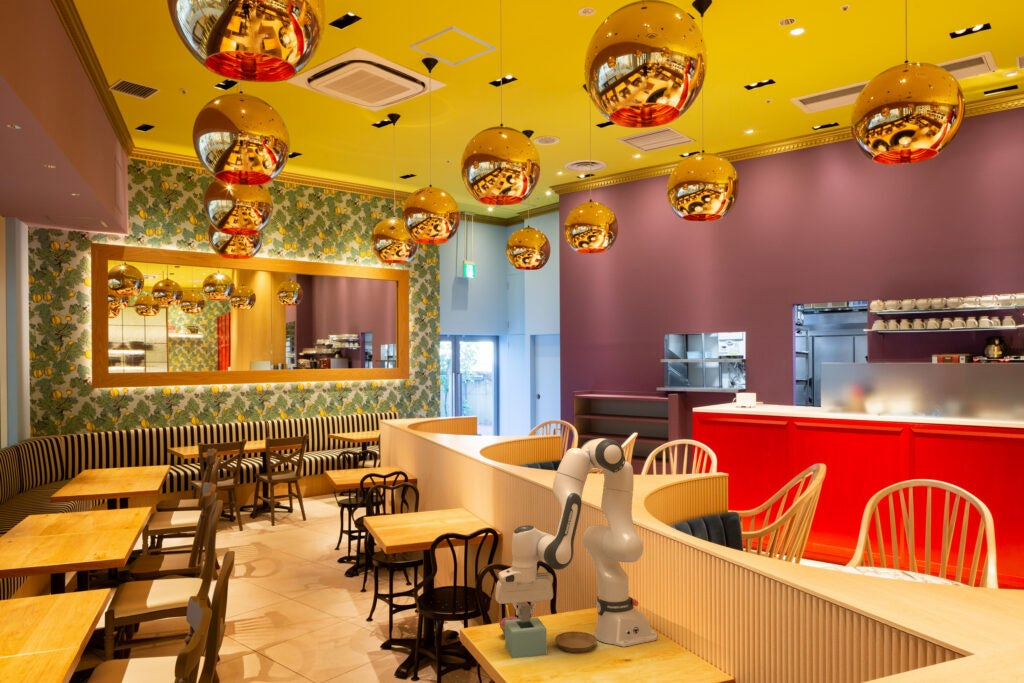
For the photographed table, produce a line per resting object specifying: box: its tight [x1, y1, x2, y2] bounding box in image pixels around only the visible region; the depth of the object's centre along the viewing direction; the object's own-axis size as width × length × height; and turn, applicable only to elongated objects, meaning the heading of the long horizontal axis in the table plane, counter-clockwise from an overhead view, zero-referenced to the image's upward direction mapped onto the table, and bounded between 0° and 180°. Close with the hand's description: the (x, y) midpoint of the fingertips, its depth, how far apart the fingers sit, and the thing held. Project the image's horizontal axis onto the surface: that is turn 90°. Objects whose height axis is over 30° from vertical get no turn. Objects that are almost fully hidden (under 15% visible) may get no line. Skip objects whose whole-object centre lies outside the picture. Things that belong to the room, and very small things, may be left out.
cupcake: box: [498, 603, 520, 638], centre depth 245 cm, size 9×8×12 cm
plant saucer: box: [554, 630, 598, 653], centre depth 236 cm, size 15×15×3 cm
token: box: [518, 602, 532, 622], centre depth 233 cm, size 3×5×5 cm, turn 13°
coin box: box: [504, 616, 548, 659], centre depth 233 cm, size 12×11×9 cm
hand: (524, 614), depth 233 cm, fingers closed on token, 3 cm apart
